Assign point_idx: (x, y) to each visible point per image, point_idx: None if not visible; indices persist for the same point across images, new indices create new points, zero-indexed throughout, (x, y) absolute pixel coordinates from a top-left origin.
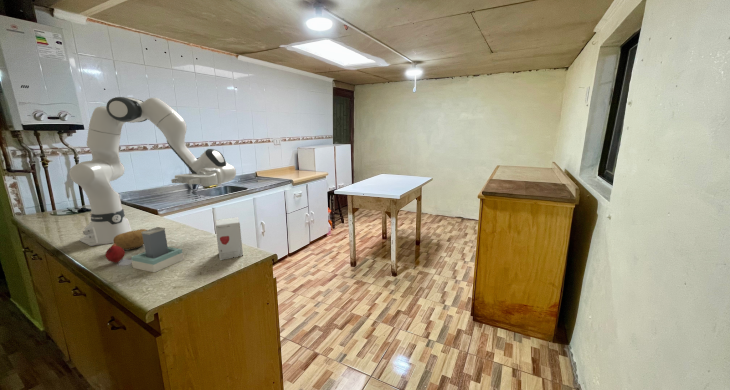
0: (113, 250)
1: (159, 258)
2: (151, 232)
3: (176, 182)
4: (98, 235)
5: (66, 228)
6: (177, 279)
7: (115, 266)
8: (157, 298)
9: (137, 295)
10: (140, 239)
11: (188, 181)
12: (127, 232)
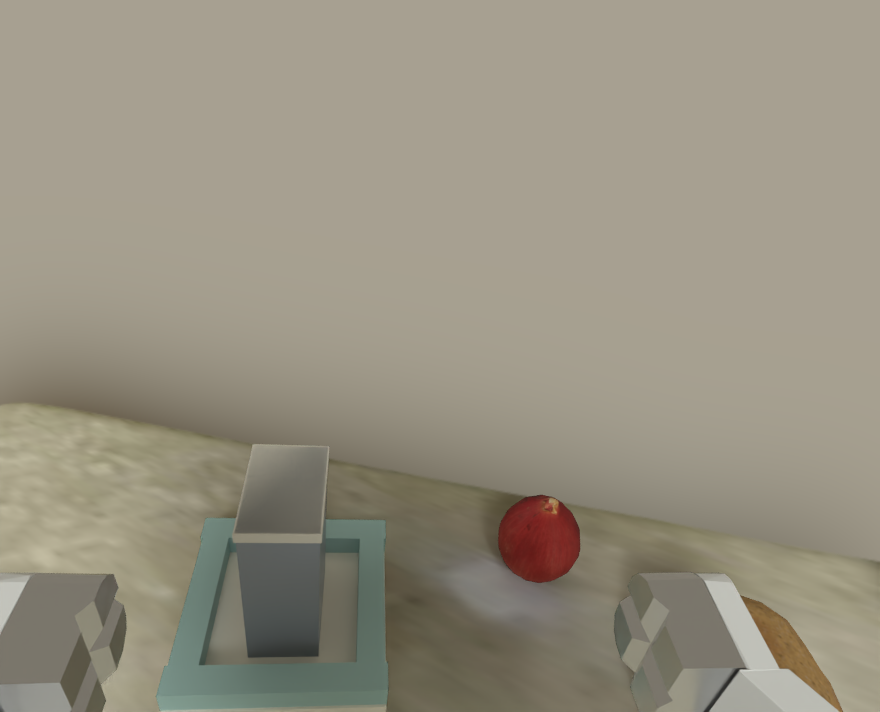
0: (519, 504)
1: (199, 550)
2: (250, 457)
3: (636, 683)
4: None
5: None
6: (19, 545)
7: (483, 544)
8: (11, 437)
9: (116, 432)
10: None
11: (58, 582)
12: (775, 659)
